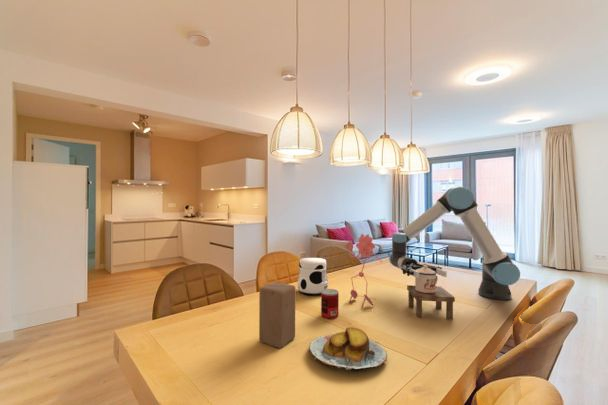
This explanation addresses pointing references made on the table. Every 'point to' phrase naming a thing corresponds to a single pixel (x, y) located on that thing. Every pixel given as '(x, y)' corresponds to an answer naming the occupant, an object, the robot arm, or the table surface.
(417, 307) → the walnut footstool
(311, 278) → the milk container
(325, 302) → the canned food
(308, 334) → the table surface
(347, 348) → the food on plate
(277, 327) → the wooden block
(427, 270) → the teacup with lid
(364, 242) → the figurine
